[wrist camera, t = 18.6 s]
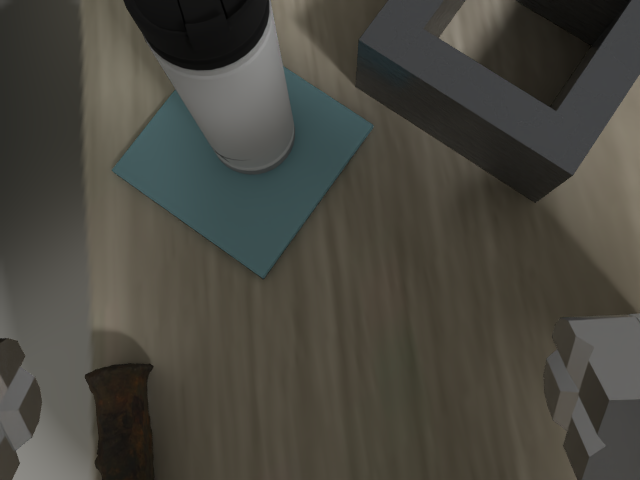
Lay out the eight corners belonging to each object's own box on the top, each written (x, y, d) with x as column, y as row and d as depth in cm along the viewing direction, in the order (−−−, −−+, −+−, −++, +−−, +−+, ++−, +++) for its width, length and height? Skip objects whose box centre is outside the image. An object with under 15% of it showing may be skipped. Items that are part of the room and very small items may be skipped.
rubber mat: (373, 128, 45) (373, 125, 44) (263, 279, 43) (262, 278, 42) (225, 31, 47) (224, 27, 46) (114, 172, 45) (111, 170, 44)
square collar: (646, 36, 45) (701, -20, 39) (535, 202, 43) (573, 175, 37) (469, -68, 47) (491, -139, 41) (355, 86, 45) (358, 39, 39)
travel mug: (226, 191, 44) (136, 61, 24) (202, 110, 45) (96, -76, 25) (307, 164, 44) (284, 15, 24) (280, 85, 45) (237, -119, 25)
